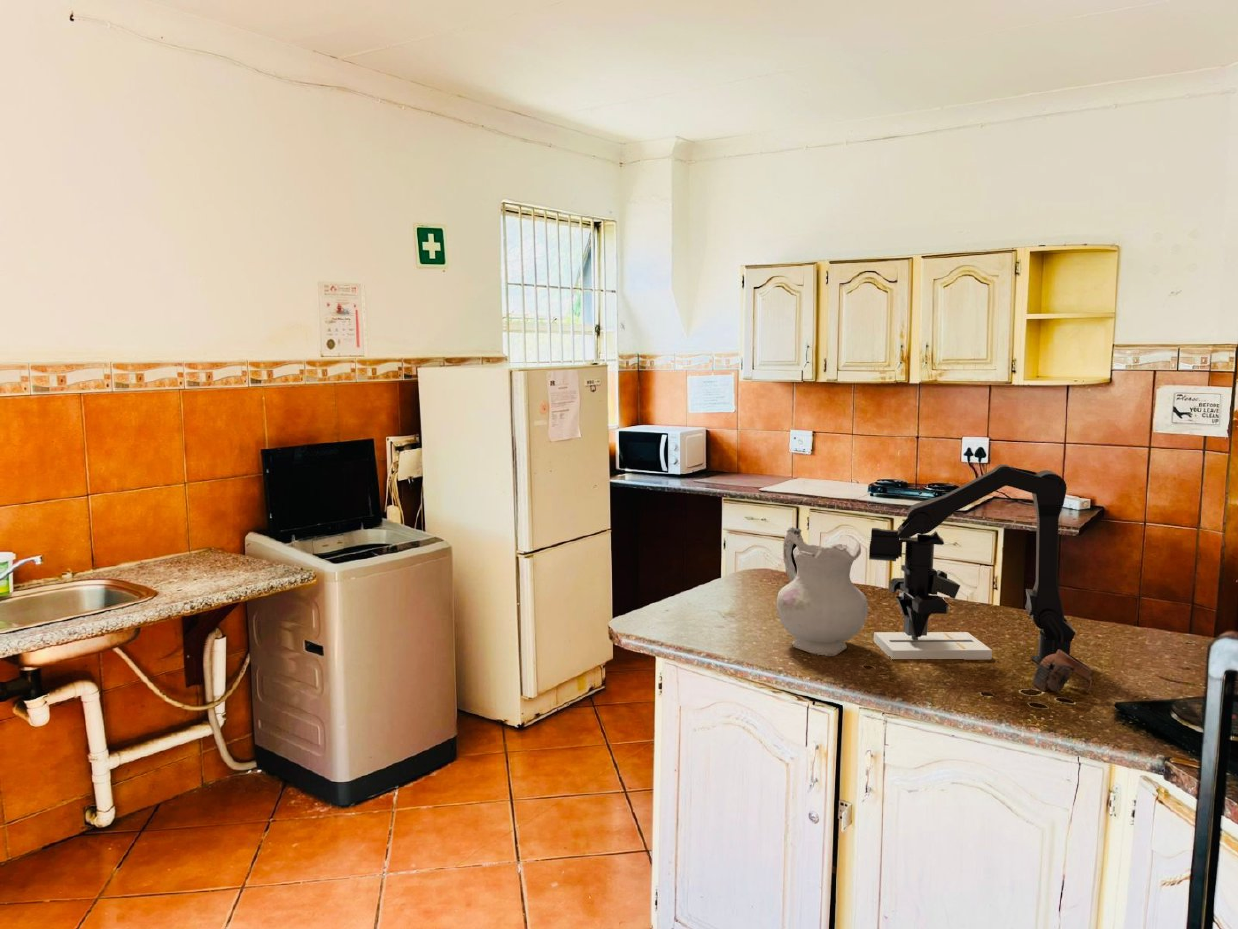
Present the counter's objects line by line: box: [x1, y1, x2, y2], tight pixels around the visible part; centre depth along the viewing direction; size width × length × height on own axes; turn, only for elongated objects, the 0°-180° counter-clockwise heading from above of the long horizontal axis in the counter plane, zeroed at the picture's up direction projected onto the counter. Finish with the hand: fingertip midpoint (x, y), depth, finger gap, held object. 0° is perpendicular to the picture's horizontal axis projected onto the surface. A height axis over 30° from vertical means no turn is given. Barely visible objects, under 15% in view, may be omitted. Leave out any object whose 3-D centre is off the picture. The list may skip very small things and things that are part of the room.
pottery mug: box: [1032, 649, 1095, 694], centre depth 166 cm, size 12×10×8 cm
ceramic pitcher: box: [776, 527, 869, 657], centre depth 190 cm, size 22×20×25 cm
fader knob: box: [903, 615, 929, 640], centre depth 188 cm, size 3×4×5 cm
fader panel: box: [873, 631, 993, 660], centre depth 189 cm, size 12×21×2 cm, turn 92°
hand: (915, 634), depth 188 cm, fingers closed on fader knob, 3 cm apart
